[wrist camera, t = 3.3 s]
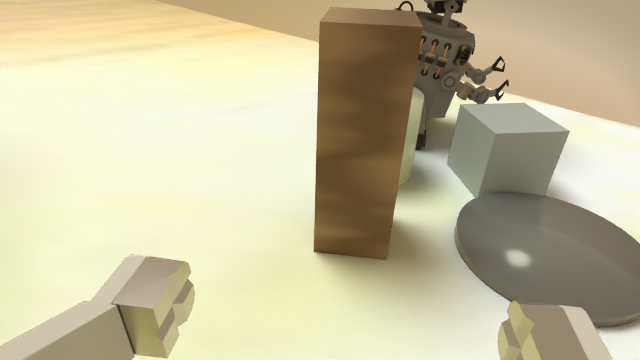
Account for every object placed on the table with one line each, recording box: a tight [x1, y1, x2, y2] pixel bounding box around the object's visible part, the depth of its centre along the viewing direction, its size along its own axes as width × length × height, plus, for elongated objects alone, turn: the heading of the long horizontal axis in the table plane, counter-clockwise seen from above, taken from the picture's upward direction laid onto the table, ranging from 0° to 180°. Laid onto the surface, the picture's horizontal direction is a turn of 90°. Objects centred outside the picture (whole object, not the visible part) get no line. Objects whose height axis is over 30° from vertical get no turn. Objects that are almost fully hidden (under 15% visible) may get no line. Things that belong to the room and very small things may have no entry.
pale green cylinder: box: [398, 87, 424, 186], centre depth 28 cm, size 6×6×6 cm
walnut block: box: [314, 7, 423, 259], centre depth 20 cm, size 4×4×12 cm
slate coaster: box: [454, 192, 640, 327], centre depth 22 cm, size 10×10×1 cm
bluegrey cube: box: [447, 103, 570, 198], centre depth 28 cm, size 5×5×5 cm
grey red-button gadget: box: [394, 0, 509, 149], centre depth 32 cm, size 9×12×15 cm
